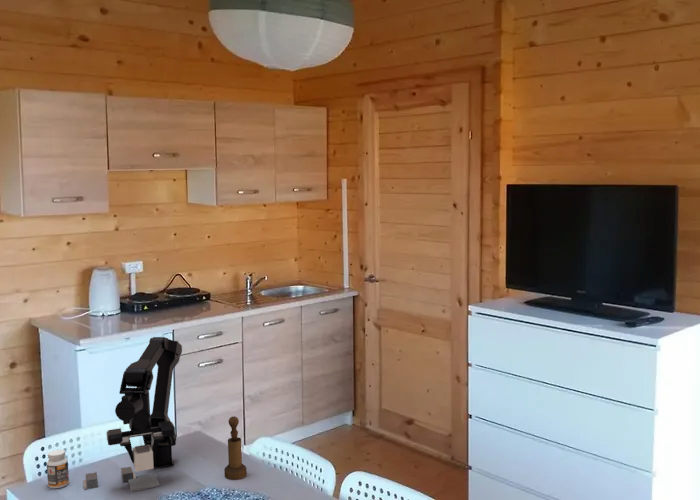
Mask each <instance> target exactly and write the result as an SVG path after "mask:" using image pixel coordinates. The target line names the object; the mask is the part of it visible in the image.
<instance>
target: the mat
mask: <svg viewBox="0 0 700 500" xmlns="http://www.w3.org/2000/svg"><path fill="white" fill-rule="evenodd" d="M128 486H129V489H130V492H136V491H142V490H148V489H152V488H153V489H154V488H157V487H160V481H159V479H158V477H157V474H156V473H155V474H150V475H143V476H138V477H137V476H136V479H129V480H128Z"/></svg>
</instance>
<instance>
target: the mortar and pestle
mask: <svg viewBox="0 0 700 500" xmlns="http://www.w3.org/2000/svg"><path fill="white" fill-rule="evenodd" d="M239 422H240V421H239V418H238V417H237V416H234V415H233V416H230V417H229V419H228V425H229V427H230V429H231V431H230V438H228V439H227V451H228V454H227V455H228V464H227V465H226V466H225V467H224V469H223V470H224V477H225V478H226V479H228V480H241V479H244V478H245V477H247V475H248V473H247V466H246V465H245V464H243V457H242V438H241V437H238V436H239V435H238V434H239V431H238V429H237V427H238V425H239Z"/></svg>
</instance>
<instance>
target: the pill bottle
mask: <svg viewBox="0 0 700 500" xmlns="http://www.w3.org/2000/svg"><path fill="white" fill-rule="evenodd" d="M47 458H48V460H47V462H46V473H47V474H46V476H47V486H48V488H51V489H61V488H64V487H66V486H67V485H68V484H69V482H70V480H69V479H70V478H69V475H70V474H69V461H68V458H67V457H66V450H65V449H55V450H51V451H49V452H48V453H47Z"/></svg>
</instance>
